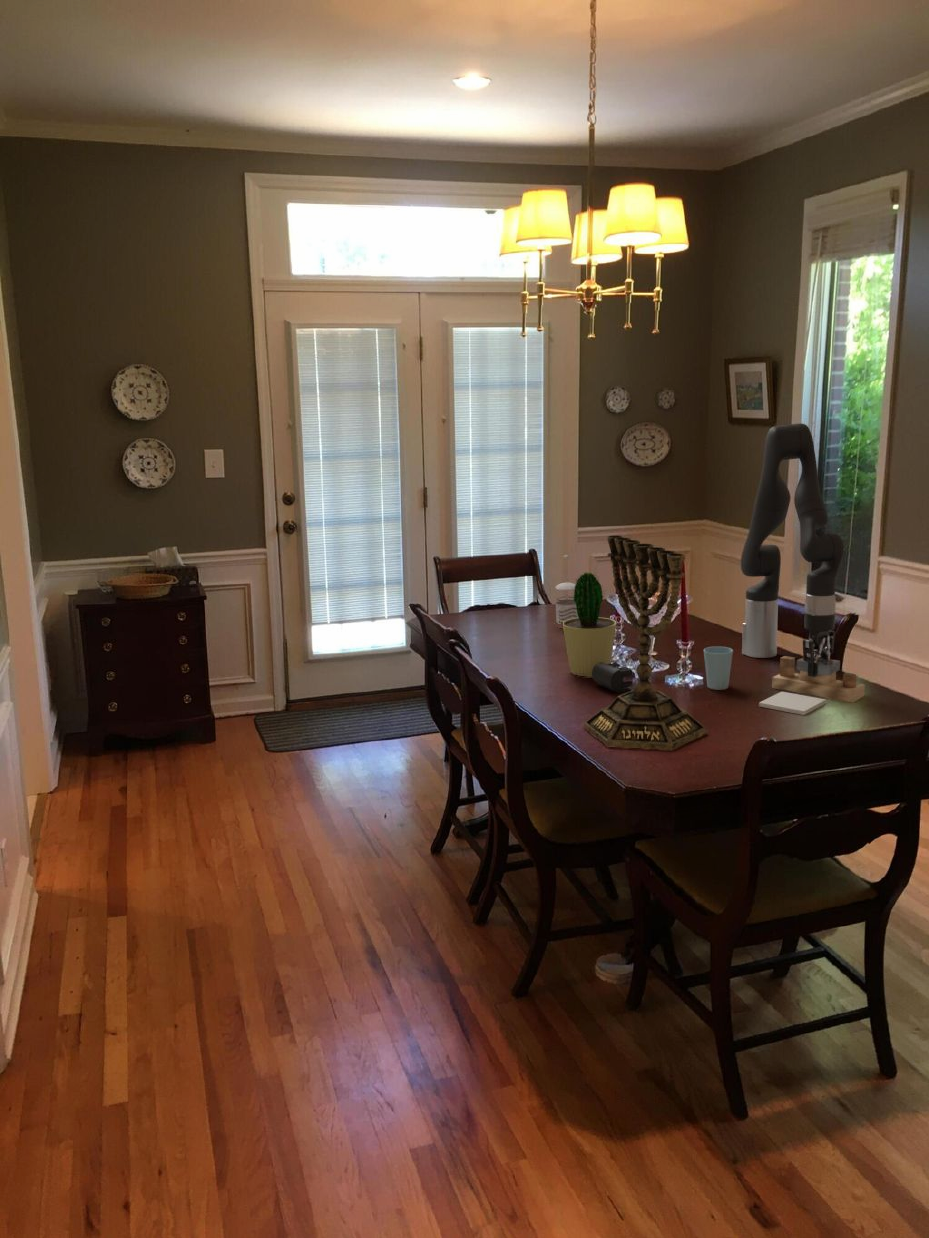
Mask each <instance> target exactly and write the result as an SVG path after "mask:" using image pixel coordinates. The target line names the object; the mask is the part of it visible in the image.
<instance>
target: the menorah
mask: <svg viewBox="0 0 929 1238" xmlns="http://www.w3.org/2000/svg"><path fill="white" fill-rule="evenodd" d="M606 539H607V540H606V541H607V543H608V546H609V550H610V552H608V553H607V555H606V556H607V557H610V563H611V564H612V566H611V568H612V573H613V578H614V579H613V586H614V588H615V590H616V591H615V592H616V594H617V598H618V603H619V606H620V607H621V608H622V611H623V612H624V614H625V617H626V619H627V621H629V623H630V624H631V625H632V627H633V628H634V629H635V630H637V631H639V632H640V633H638V636H637V640H638V642H639V645H638V648H637V649H638V653H639V654H638V657H637V658H638V662H639V664H638V665H637V666H636V669H635V672H636V675H637V676H638V678H639V680H638V682H637V683H635V686H634V687H633V689H631V691H629V692H624V693H621V694H620V695H618V696H616V697H615V698H614V700H613V701H612V702H611V704H610V705H608V706H606V707H603V708H601V709H600V710H599V711H597V712H596V713H595V714H594V715H592V716H590V717H589V718H588V719H587V720H585V721H584V722H583V728H584V727H585V728H586V729H587V730H588V731H589V732H591V733H592V734H593V735H595V736H596V737H597V738H598V739H599V740H600V741H603V742H604V743H605V744H606V745H607V746H615V747H627V748H626V749H629V748H645V749H644V750H649V749H658V750H657V751H674V750H676V749H678V748H681V747H683V746H684V745H686V743H687V744H689V743H691V742H693V741H694V740H697V739H699V738H701V737H703V736H705V735H707V732H708V731H707V727H706V726H705V725H703V724H702V723H701V722H700V721H699V720H697V718H695V717H694V716H693V715H692V714H690V713H689V712H688V711H686V710H685V709H683V708H681V707H680V706H678V705H677V703H676V702H675V701H674V700H673V699H672V697H670V696H668V695H667V694H665V693H664V692H661V691H660V690H655V687H654V685H653V684H652V682H651V681H650V680H649V679H650V678H651V675H652V674H653V672H652V671H653V669H652V668H653V667H652V666H651V665H650V664H649V662H650V659H651V658H650V655H649V653H650V649H651V647H650V645H649V643H650V638H651V636H655V635H659V634H661V633H662V632H663V631H665V629H666V628H667V627H669V626H670V625H671V623H672V619H673V618H674V615H675V612H676V611H677V609H678V608H679V603H678V601H679V596H680V590H681V588H680V586H681V584H682V581H683V580H682V579H683V578H686V574H685V573H684V572H682V570H683V567H684V563H685V559H686V554H685V553H676V551H675V550H666V547H661V546H660V547H657V546H655V545H654V543H641V541H640V540H639V539H632V538H631V537H624V536H623V535H619V534H618V535H617V534H616V535H614V534H613V535H608V536H607V537H606ZM637 567H638V572H639V573H640V575H639V576H640V578H639V576H638V575H637V571H636V568H637ZM648 571H650V574H651V577H652V578H651V582H650V583H648V582H649V581H648ZM660 579H661V587H660V586H659V584H660ZM670 584H671V589H670V588H669V587H670ZM632 588H633V589H632ZM669 589H670V590H669ZM633 590H634V592H633ZM659 590H660V592H659V594H658V595H657V596H656V602H655V603H654V604H653V606H651V607H650V608H649V606H650V599H651V598H653V597H654V595H655V594H656V593H657V592H658V591H659ZM669 591H671V592H670V597H669V600H668V594H669ZM635 593H636V595H638V596H639V599H638V598H637V597H636V596H635ZM629 604H630V605H631V606H632V607H633V608H634V609H635V610H636V612H637V613H639V616H638V617H636V614H635V613H634V612H633V611H632V609H631V606H630V605H629ZM665 604H666V608H667V609H666V610H665V612H664V615H662V616H661V618H660V621H659V623H656V624H655V625H653V626H649V625H650V623H651V619H650V616H654V615H657V614H659V613H660V611H661V610H662V609H663V607H664V605H665ZM587 730H586V731H587ZM588 731H587V732H588ZM589 732H588V733H589ZM592 734H591V735H592ZM593 735H592V736H593ZM597 738H596V739H597ZM598 739H597V740H598ZM599 740H598V741H599ZM600 741H599V742H600ZM690 741H691V742H690ZM688 742H689V743H688Z"/></svg>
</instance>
